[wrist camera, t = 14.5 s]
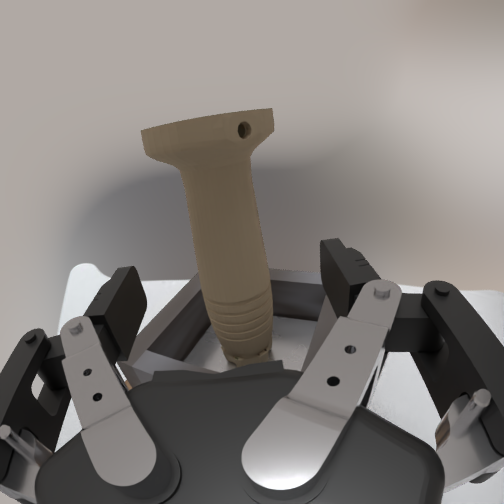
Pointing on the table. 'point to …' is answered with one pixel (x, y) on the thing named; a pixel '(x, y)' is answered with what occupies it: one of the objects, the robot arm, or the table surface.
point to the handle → (224, 222)
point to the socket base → (197, 322)
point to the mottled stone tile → (283, 348)
